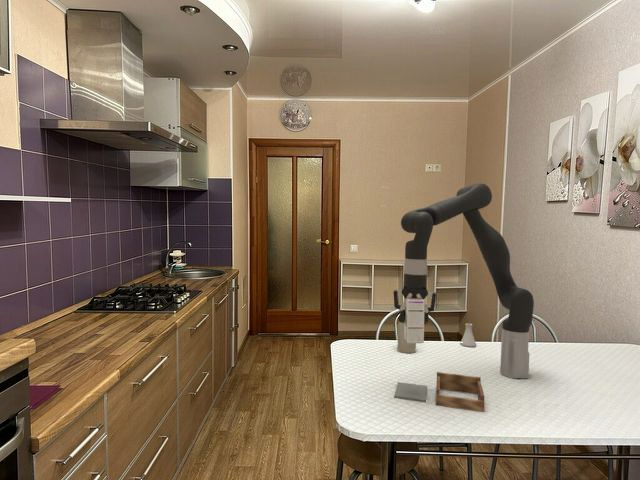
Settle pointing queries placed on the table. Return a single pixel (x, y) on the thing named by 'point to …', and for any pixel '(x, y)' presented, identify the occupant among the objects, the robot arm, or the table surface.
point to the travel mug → (402, 344)
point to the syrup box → (414, 320)
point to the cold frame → (460, 385)
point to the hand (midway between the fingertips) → (413, 322)
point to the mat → (411, 392)
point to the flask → (468, 337)
